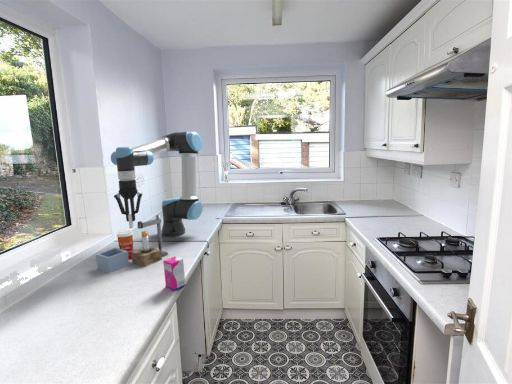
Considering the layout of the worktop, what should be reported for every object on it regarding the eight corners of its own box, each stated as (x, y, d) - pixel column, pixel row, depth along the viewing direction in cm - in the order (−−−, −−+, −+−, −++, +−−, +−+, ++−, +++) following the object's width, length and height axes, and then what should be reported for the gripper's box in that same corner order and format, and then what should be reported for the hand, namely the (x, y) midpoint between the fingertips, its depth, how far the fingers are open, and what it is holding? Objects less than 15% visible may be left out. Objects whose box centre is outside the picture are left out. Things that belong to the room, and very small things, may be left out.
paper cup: (117, 262, 146) (115, 235, 144) (120, 256, 154) (117, 230, 152) (134, 260, 148) (132, 233, 146) (136, 255, 156) (134, 229, 154)
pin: (147, 259, 150) (145, 230, 147) (151, 260, 148) (149, 231, 146) (142, 261, 147) (140, 232, 145) (146, 262, 145) (144, 233, 143)
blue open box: (117, 261, 148) (115, 247, 147) (129, 265, 143) (127, 251, 141) (97, 268, 140) (95, 254, 139) (109, 272, 134) (107, 258, 133)
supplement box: (177, 281, 124) (175, 255, 122) (185, 285, 120) (184, 258, 118) (165, 286, 120) (162, 260, 118) (173, 291, 116) (171, 263, 114)
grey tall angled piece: (160, 251, 156) (157, 214, 153) (163, 252, 154) (161, 215, 151) (139, 259, 145) (136, 220, 142) (142, 260, 144) (139, 220, 141)
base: (161, 252, 158) (161, 250, 158) (168, 254, 155) (167, 252, 155) (153, 255, 154) (153, 253, 154) (160, 257, 151) (160, 255, 151)
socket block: (149, 255, 154) (148, 246, 154) (161, 259, 149) (161, 249, 148) (132, 262, 146) (131, 252, 145) (144, 266, 141) (144, 256, 140)
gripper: (110, 181, 136) (115, 230, 140) (140, 179, 138) (144, 228, 142) (114, 179, 143) (119, 226, 147) (142, 178, 146) (146, 224, 149)
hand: (131, 227), depth 145 cm, fingers closed
